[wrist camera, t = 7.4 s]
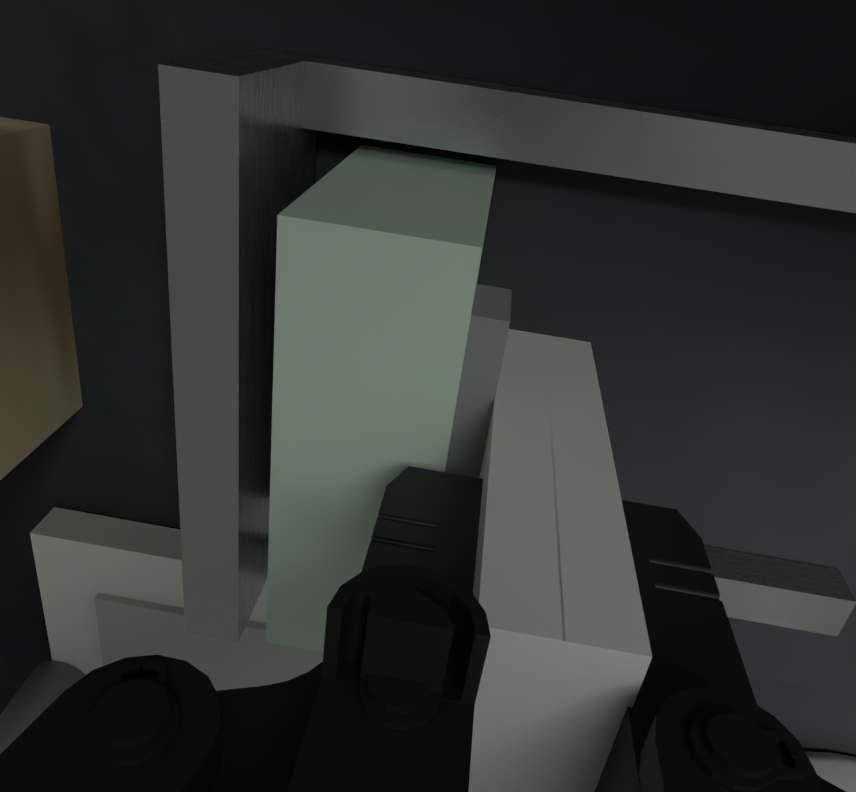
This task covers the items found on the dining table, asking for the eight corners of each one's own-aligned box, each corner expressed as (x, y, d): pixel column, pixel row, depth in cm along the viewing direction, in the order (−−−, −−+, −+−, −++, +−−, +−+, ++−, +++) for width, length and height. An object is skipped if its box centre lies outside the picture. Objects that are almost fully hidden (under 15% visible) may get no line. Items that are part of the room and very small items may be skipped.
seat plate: (30, 502, 18) (-112, 644, 14) (485, 584, 17) (474, 755, 13) (74, 760, 22) (-22, 921, 18) (431, 830, 22) (411, 1009, 18)
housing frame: (262, 48, 12) (158, 64, 9) (1049, 166, 12) (1274, 233, 8) (255, 502, 17) (185, 632, 13) (820, 602, 16) (902, 765, 13)
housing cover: (361, 144, 13) (277, 214, 8) (524, 170, 13) (526, 254, 8) (336, 470, 16) (265, 642, 12) (464, 492, 16) (442, 674, 12)
